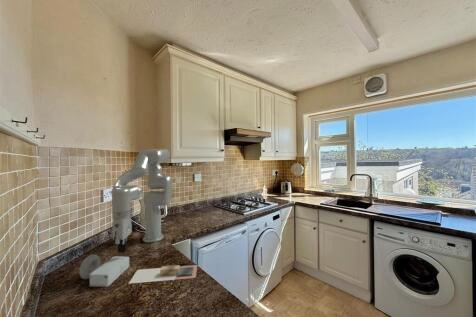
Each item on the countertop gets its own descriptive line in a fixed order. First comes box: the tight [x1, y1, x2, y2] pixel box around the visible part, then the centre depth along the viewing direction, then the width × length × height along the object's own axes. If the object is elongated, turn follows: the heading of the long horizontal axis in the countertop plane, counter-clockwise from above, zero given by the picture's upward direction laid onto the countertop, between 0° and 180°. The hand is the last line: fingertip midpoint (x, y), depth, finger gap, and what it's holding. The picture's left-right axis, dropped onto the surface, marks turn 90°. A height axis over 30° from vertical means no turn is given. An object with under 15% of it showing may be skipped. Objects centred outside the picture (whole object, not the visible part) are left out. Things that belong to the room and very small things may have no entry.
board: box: [128, 264, 198, 285], centre depth 88 cm, size 10×28×1 cm, turn 97°
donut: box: [79, 254, 101, 280], centre depth 88 cm, size 10×4×10 cm, turn 178°
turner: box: [160, 264, 194, 277], centre depth 89 cm, size 14×6×3 cm, turn 97°
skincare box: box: [89, 256, 130, 288], centre depth 87 cm, size 8×6×15 cm
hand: (122, 251), depth 93 cm, fingers closed
